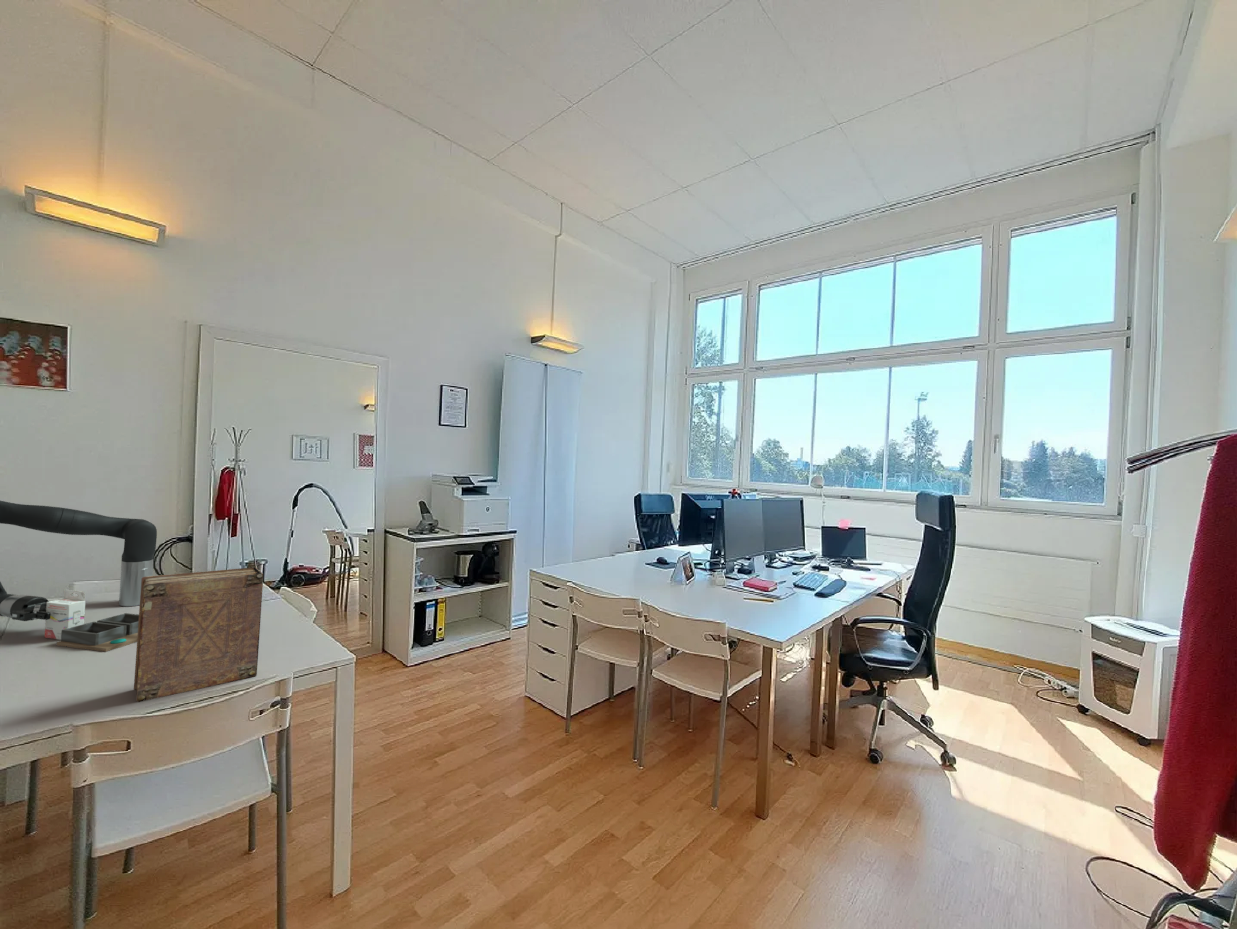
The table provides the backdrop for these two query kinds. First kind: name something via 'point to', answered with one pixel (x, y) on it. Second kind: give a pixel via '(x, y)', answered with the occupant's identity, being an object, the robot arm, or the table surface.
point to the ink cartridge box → (65, 613)
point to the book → (197, 630)
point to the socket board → (102, 633)
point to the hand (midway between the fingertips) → (65, 612)
